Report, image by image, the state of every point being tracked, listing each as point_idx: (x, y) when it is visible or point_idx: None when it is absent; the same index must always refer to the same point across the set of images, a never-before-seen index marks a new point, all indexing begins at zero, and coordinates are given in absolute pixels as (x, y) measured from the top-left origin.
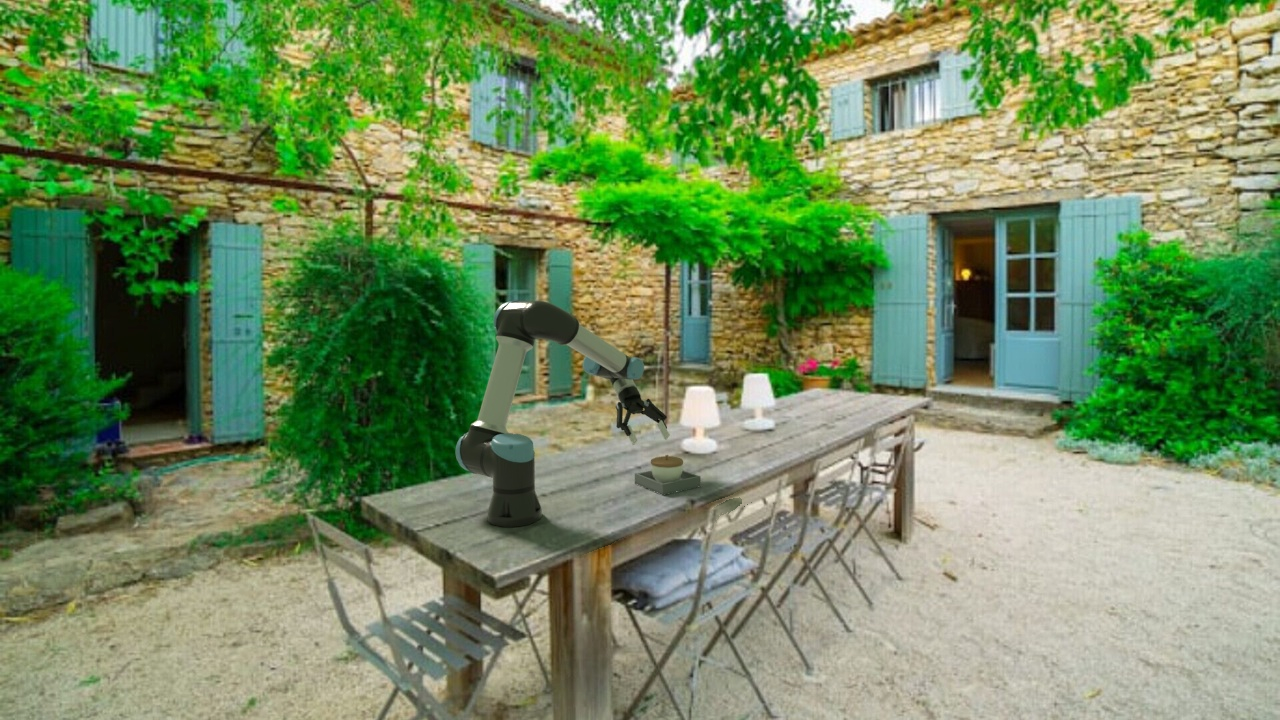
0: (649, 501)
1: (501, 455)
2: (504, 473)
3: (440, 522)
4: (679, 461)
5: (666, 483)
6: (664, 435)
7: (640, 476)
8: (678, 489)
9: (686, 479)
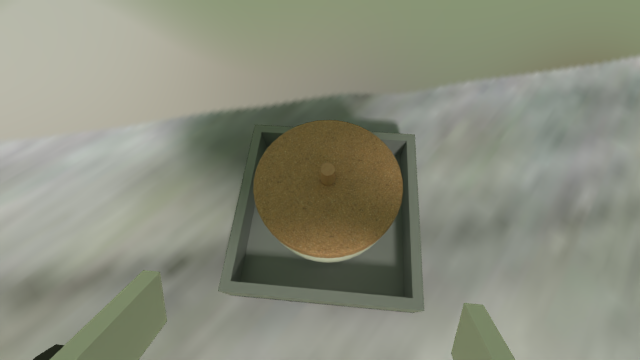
0: (468, 140)
1: None
2: None
3: None
4: (305, 129)
5: (397, 135)
6: (147, 326)
7: (421, 264)
8: None
9: None
